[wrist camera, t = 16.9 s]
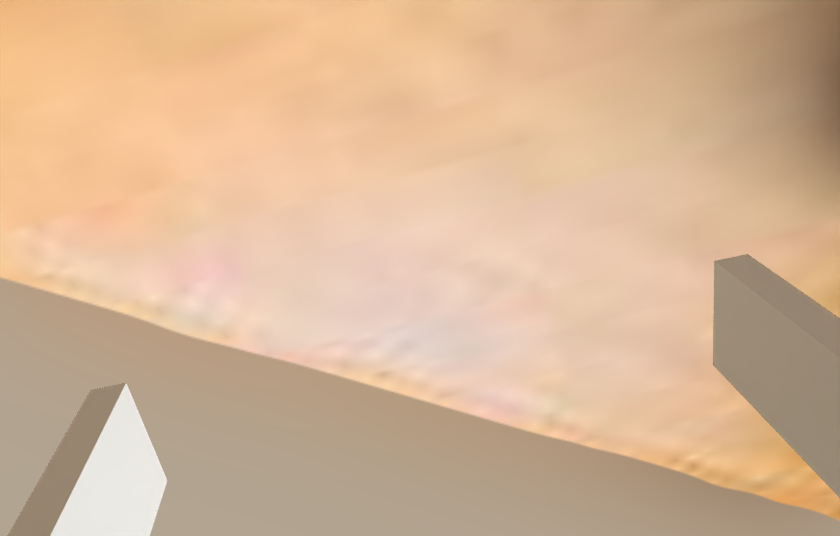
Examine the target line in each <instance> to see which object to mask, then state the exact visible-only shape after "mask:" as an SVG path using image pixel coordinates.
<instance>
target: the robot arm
mask: <svg viewBox="0 0 840 536" xmlns="http://www.w3.org/2000/svg"><path fill="white" fill-rule="evenodd" d="M713 365H714V366H715V367H716V369H717V370H718V371H719V372H720V373H721V374H722V375H723V376H724V377H725V378H726V379H727V380H728V381H729V382H730V383H731V384H732V385H733V386H734V387H735V388H736V390H737V391H738V392H739V393H740V394H741V395H742V396H743V397H744V398H745V399H746V400H747V401H748V402H749V403H750V404H751V405H752V406H753V407H754V408H755V409H756V411H757V412H758V413H759V414H760V415H761V416H762V417H763V418H764V419H765V420H766V421H767V422H768V423H769V424H770V425H771V426H772V427H773V428H774V429H775V430H776V432H777V433H778V434H779V435H780V436H781V437H782V438H783V439H784V440H785V441H786V442H787V443H788V444H789V445H790V446H791V447H792V448H793V449H794V450H795V451H796V453H797V454H798V455H799V456H800V457H801V458H802V459H803V460H804V461H805V462H806V463H807V464H808V465H809V466H810V467H811V468H812V469H813V470H814V471H815V472H816V474H817V475H818V476H819V477H820V478H821V479H822V480H823V481H824V482H825V483H826V484H827V485H828V486H829V487H830V488H831V489H832V490H833V491H834V492H835V493H836V495H837V496H838V497H839V498H840V318H839V317H837V316H836V315H834V314H833V313H831V312H830V311H828V310H827V309H826V308H824V307H823V306H821V305H820V304H818V303H817V302H816V301H814V300H813V299H811V298H810V297H808V296H807V295H805V294H804V293H803V292H801V291H800V290H798V289H797V288H795V287H794V286H793V285H791V284H790V283H788V282H787V281H785V280H784V279H782V278H781V277H780V276H778V275H777V274H775V273H774V272H772V271H771V270H770V269H768V268H767V267H765V266H764V265H762V264H761V263H759V262H758V261H757V260H755V259H754V258H752V257H751V256H749V255H748V254H746V255H741V256H737V257H732V258H727V259H722V260H717V261H714V325H713ZM166 483H167V479H166V477H165V474H164V472H163V470H162V467H161V465H160V462H159V460H158V458H157V455H156V453H155V450H154V448H153V446H152V443H151V441H150V439H149V436H148V434H147V431H146V429H145V427H144V424H143V422H142V420H141V417H140V415H139V412H138V410H137V408H136V405H135V403H134V400H133V398H132V396H131V393H130V391H129V389H128V386H127V384H126V383H123V384H118V385H113V386H108V387H104V388H99V389H94V390H91V391H90V392H89V394H88V396H87V398H86V399H85V401H84V403H83V404H82V406H81V408H80V410H79V411H78V413H77V415H76V417H75V418H74V420H73V422H72V424H71V426H70V428H69V429H68V431H67V432H66V434H65V436H64V438H63V439H62V441H61V443H60V445H59V446H58V448H57V450H56V452H55V453H54V455H53V457H52V459H51V460H50V462H49V464H48V466H47V467H46V469H45V471H44V473H43V474H42V476H41V478H40V480H39V481H38V483H37V485H36V487H35V488H34V490H33V492H32V494H31V495H30V497H29V499H28V501H27V502H26V504H25V506H24V508H23V510H22V511H21V513H20V515H19V517H18V518H17V520H16V522H15V523H14V525H13V527H12V529H11V531H10V532H9V534H8V536H150V533H151V530H152V527H153V524H154V520H155V517H156V514H157V511H158V508H159V505H160V502H161V499H162V495H163V493H164V489H165V486H166Z"/></svg>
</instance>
